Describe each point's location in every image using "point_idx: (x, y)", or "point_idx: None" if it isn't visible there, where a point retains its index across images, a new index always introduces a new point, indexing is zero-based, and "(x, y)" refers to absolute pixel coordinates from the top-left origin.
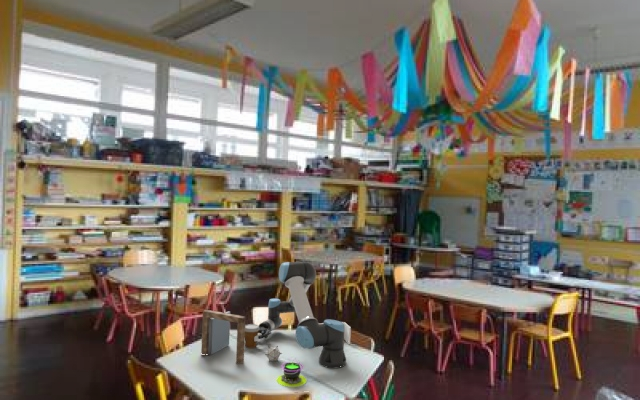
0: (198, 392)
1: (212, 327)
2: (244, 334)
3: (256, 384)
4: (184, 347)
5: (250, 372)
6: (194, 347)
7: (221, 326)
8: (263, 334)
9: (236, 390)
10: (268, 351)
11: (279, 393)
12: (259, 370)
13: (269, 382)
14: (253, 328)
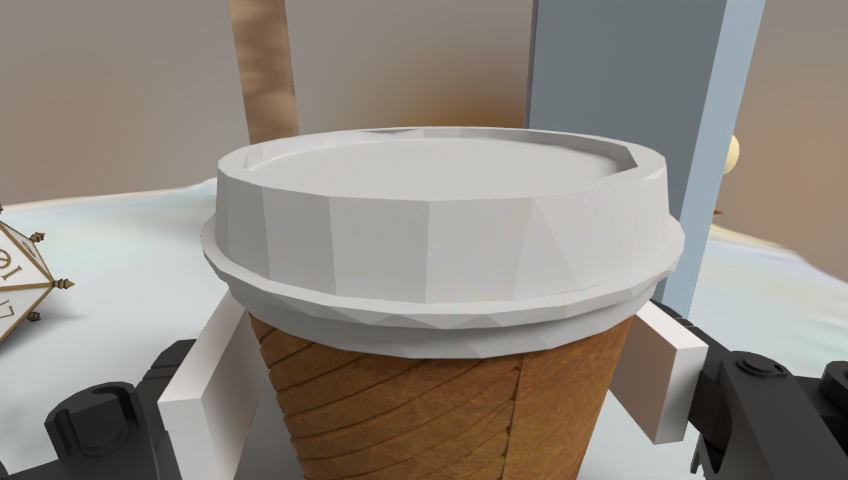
0: None
1: (536, 42)
2: (237, 49)
3: (124, 206)
4: (756, 240)
5: (179, 231)
6: (733, 256)
7: (593, 64)
8: (69, 467)
9: (199, 184)
10: (15, 230)
11: (8, 205)
12: (124, 250)
13: (54, 221)
14: (306, 135)
